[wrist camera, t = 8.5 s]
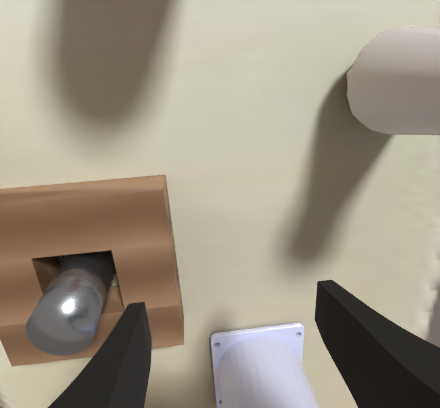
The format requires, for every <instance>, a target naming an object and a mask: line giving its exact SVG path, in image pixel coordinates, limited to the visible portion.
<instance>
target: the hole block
mask: <svg viewBox="0 0 440 408" xmlns="http://www.w3.org/2000/svg"><path fill="white" fill-rule="evenodd" d="M108 250H112V254H113V259H114V264H115V268H116V273H117V277H118V282H119V286H112V287H109V290H108V293H107V297H106V300H105V303H104V306H103V309H102V312H101V316H100V319H99V322H98V325H97V328H96V331H95V335H94V338H93V340H92V342H91V344H90V345H89V346H88V347H87V348H86V349H84V350H83V351H81V352H79V353H76V354H72V355H66V356H59V355H52V354H48V353H45V352H43V351H41V350H39V349H38V348H36V347H35V346H34V345H33V344H32V343H31V342H30V341H29V339H28V337H27V335H26V323H27V321H28V319H29V317H30V316H31V314H32V312H33V311H34V309H35V307H36V306H37V304H38V302H39V301H40V299H41V297H42V296H43V294H44V292H45V291H46V289H47V287H48V286H49V284H50V282H51V281H52V279H53V277H54V276H55V274H56V272H57V271H58V269H59V265H58V261H57V258H56V256H60V255H70V254H79V253H89V252H99V251H108ZM138 302H145V306H146V311H147V317H148V322H149V327H150V333H151V338H152V348H151V349H153V348H161V347H169V346H177V345H184V315H183V307H182V299H181V292H180V284H179V276H178V268H177V261H176V253H175V245H174V238H173V230H172V222H171V215H170V207H169V199H168V191H167V184H166V176H165V175H158V176H147V177H135V178H124V179H112V180H101V181H89V182H78V183H66V184H55V185H43V186H32V187H20V188H9V189H0V340H1V342H2V344H3V347H4V349H5V351H6V354H7V356H8V358H9V361H10V363H11V365H12V366H20V365H28V364H35V363H43V362H51V361H59V360H67V359H75V358H82V357H90V356H94V355H95V354H96V352H97V351H98V350H99V349H100V347H101V346H102V344H103V343H104V341H105V340H106V339H107V337H108V336H109V334H110V333H111V331H112V330H113V328H114V327H115V325H116V323H117V322H118V320H119V319H120V317H121V315H122V314H123V312H124V310H125V309H126V307H127V306H128V305H129V303H138Z"/></svg>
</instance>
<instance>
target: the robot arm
mask: <svg viewBox="0 0 440 408" xmlns="http://www.w3.org/2000/svg"><path fill="white" fill-rule="evenodd" d="M315 321H316V324H317V327H318V329H319V332H320V334H321V337H322V339H323V342H324V344H325V346H326V348H327V350H328V351H329V353H330V355H331V357H332V359H333V361H334V363H335V364H336V366H337V368H338V370H339V372H340V373H341V375H342V377H343V379H344V381H345V383H346V384H347V386H348V388H349V390H350V392H351V394H352V396H353V398H354V400H355V402H356V404H357V406H358V408H440V348H439V347H437V346H435V345H433V344H431V343H429V342H427V341H425V340H423V339H421V338H419V337H418V336H416V335H414V334H412V333H410V332H408V331H407V330H405V329H403V328H401V327H400V326H398V325H396V324H395V323H393V322H392V321H390V320H388V319H387V318H385V317H384V316H382V315H381V314H379V313H378V312H376V311H375V310H373V309H372V308H370V307H369V306H367V305H366V304H365V303H363V302H362V301H360V300H359V299H358V298H356V297H355V296H353V295H352V294H351V293H349V292H348V291H347V290H345V289H344V288H342V287H341V286H340V285H338V284H337V283H336V282H334V281H333V280H326V281H318V284H317V297H316V310H315ZM298 332H299V333H298ZM296 333H297V334H296ZM210 339H211V349H212V360H213V371H214V382H215V393H216V404H217V408H319V405H318V403H317V400H316V398H315V395H314V393H313V390H312V388H311V385H310V383H309V380H308V378H307V376H306V373H305V371H304V368H303V366H302V359H303V342H304V327H303V325H302V324H301V323H291V324H283V325H275V326H267V327H259V328H251V329H243V330H235V331H228V332H220V333H214V334H212V335H211V338H210ZM215 343H218V344H215ZM151 348H152V338H151V333H150V327H149V322H148V317H147V311H146V306H145V302H138V303H129V305H128V306H127V307H126V309H125V310H124V312H123V314H122V315H121V317H120V319H119V320H118V322H117V323H116V325H115V327H114V328H113V330H112V331H111V333H110V334H109V336H108V337H107V339H106V340H105V341H104V343H103V344H102V346H101V347H100V349H99V350H98V351H97V352H96V354H95V355H94V356H93V358H92V359H91V360H90V362H89V363H88V364H87V366H86V367H85V368H84V369H83V370H82V372H81V373H80V374H79V375H78V376H77V377H76V379H75V380H74V381H73V382H72V383H71V384H70V385H69V386H68V388H67V389H66V390H65V391H64V392H63V393H62V394H61V395H60V396H59V397H58V398H57V399H56V400H55V401H54V402H53V403H52V404H51V405H50V406H49V407H48V408H144V403H145V397H146V391H147V385H148V378H149V372H150V366H151Z"/></svg>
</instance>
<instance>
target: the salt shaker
mask: <svg viewBox="0 0 440 408" xmlns="http://www.w3.org/2000/svg"><path fill="white" fill-rule="evenodd" d="M346 77H347V97H348V102H349V106H350V109H351V112H352V115H353V116H354V117H356V118H357V119H358V120H359V121H360V122H361V123H362V124H363V125H365V126H366V127H367V128H368V129H370V130H372V131H377V132H381V133H385V134H393V135H440V28H434V27H426V26H419V25H411V24H409V25H405V26H401V27H397V28H393V29H389V30H386V31H384V32H382V33H380V34H379V35H378V36H377V37H376V38H374V39H373V40H372V41H371V42H370V43H369V44H367V45H366V46H365V47H364V48H363V49H362V50H361V52H360V54H359V55H358V57H357V59H356V60H355V62H354V64H353V66H352V67H351V69H350V70H349V71H348V72H347V74H346Z"/></svg>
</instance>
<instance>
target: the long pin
mask: <svg viewBox="0 0 440 408" xmlns="http://www.w3.org/2000/svg"><path fill="white" fill-rule="evenodd" d="M114 271H115V264H114V259H113V254H112V250H108V251H99V252H89V253H79V254H70V255H67V256H66V257H65V259H64V261H63V262H62V264H61V266H60V267H59V269H58V271H57V272H56V274H55V276H54V277H53V279H52V281H51V282H50V284H49V286H48V287H47V289H46V291H45V292H44V294H43V296H42V297H41V299H40V301H39V302H38V304H37V306H36V307H35V309H34V311H33V312H32V314H31V316H30V317H29V319H28V321H27V323H26V335H27V337H28V339H29V341H30V342H31V343H32V344H33V345H34V346H35V347H36V348H38V349H39V350H41V351H43V352H45V353H48V354H52V355H59V356H66V355H72V354H76V353H79V352H81V351H83V350H84V349H86V348H87V347H88V346H89V345H90V344H91V342H92V340H93V338H94V335H95V331H96V328H97V325H98V322H99V319H100V316H101V312H102V309H103V306H104V303H105V300H106V297H107V293H108V290H109V287H110V284H111V281H112V278H113V274H114Z"/></svg>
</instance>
